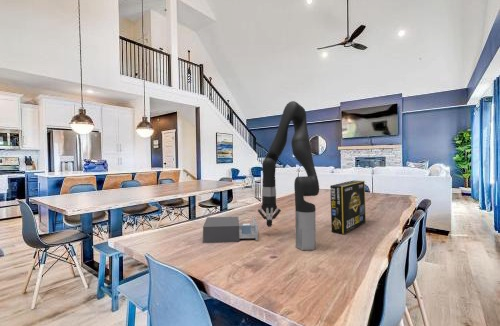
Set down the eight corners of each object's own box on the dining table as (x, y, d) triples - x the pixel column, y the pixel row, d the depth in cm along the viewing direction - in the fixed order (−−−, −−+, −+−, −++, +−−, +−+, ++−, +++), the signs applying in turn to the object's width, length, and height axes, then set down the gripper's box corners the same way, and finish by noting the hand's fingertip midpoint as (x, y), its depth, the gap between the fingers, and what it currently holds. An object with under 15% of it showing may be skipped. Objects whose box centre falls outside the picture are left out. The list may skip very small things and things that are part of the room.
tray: (255, 229, 150) (254, 216, 149) (258, 240, 130) (258, 225, 129) (224, 230, 148) (223, 217, 148) (222, 241, 128) (222, 226, 128)
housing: (238, 230, 149) (238, 216, 149) (239, 241, 129) (239, 225, 129) (207, 231, 148) (207, 217, 148) (203, 242, 128) (203, 226, 128)
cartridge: (251, 232, 137) (251, 225, 137) (242, 233, 137) (241, 225, 137) (250, 230, 141) (250, 223, 141) (241, 230, 141) (241, 223, 141)
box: (344, 235, 138) (344, 185, 137) (329, 232, 144) (329, 184, 143) (366, 223, 163) (366, 181, 162) (353, 220, 168) (353, 180, 167)
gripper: (279, 193, 144) (280, 224, 144) (256, 194, 143) (256, 224, 143) (282, 195, 136) (282, 228, 137) (257, 196, 135) (257, 228, 136)
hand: (269, 226), depth 140 cm, fingers closed
